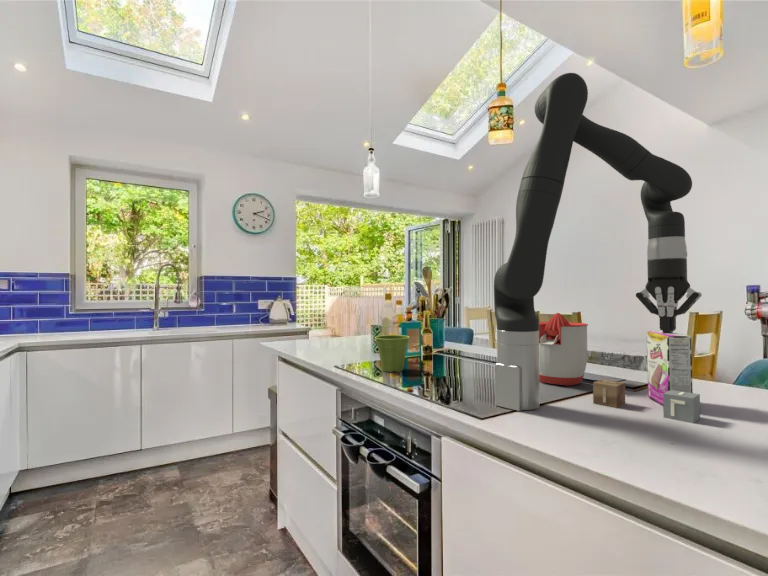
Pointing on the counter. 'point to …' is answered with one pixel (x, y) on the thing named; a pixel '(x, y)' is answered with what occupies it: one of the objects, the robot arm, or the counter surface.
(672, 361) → the candy bar box
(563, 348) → the citrus juicer
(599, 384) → the walnut digit cube
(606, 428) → the counter surface
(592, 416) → the counter surface
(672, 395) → the slate digit cube
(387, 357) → the plant pot
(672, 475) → the counter surface
